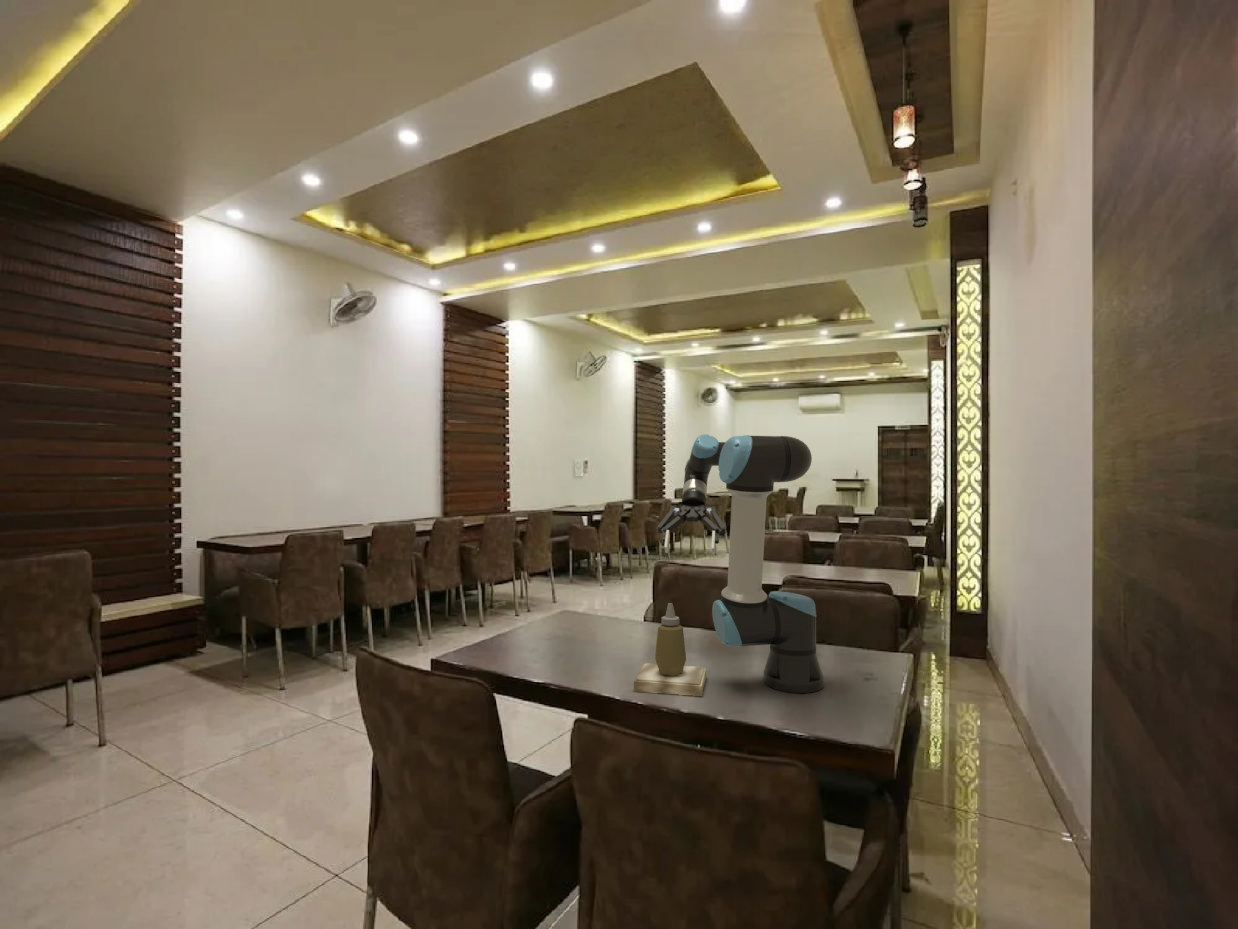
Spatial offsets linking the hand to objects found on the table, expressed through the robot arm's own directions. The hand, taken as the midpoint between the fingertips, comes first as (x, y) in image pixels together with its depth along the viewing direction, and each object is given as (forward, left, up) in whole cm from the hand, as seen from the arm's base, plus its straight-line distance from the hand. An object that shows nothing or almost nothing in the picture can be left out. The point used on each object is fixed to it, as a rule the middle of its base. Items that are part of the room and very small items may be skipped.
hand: (689, 550), depth 170 cm
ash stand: (+3, +18, -33) cm, 37 cm away
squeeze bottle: (+3, +18, -30) cm, 35 cm away
